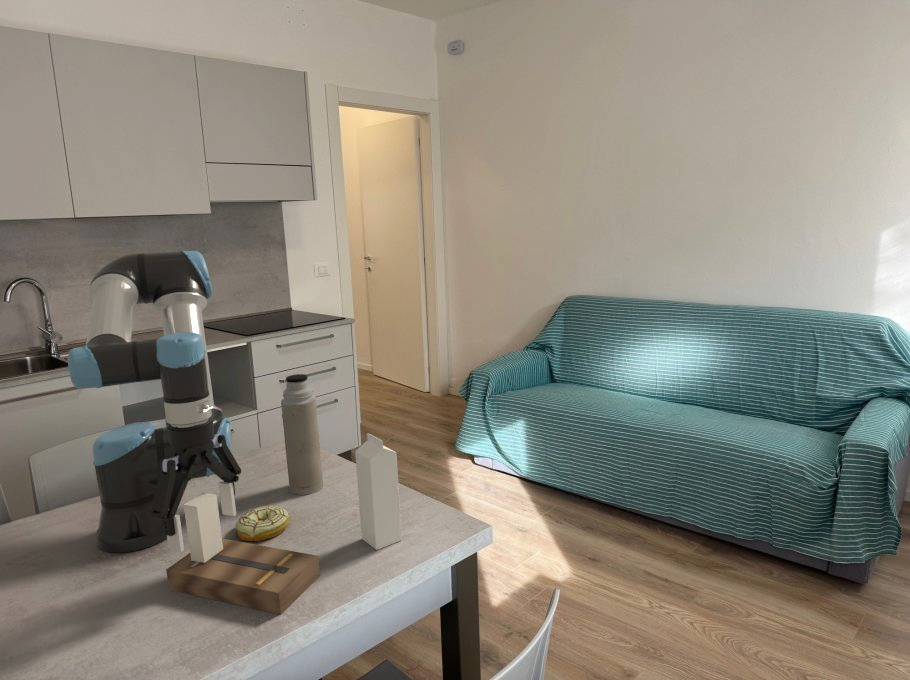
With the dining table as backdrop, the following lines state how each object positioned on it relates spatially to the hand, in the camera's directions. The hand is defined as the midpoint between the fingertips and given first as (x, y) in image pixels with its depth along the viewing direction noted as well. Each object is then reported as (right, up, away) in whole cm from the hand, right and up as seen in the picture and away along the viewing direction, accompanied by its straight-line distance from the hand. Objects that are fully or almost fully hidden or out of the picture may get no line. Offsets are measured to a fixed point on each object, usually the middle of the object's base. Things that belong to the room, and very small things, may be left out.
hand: (204, 531), depth 118 cm
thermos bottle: (+10, -1, +38) cm, 39 cm away
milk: (+31, -5, +12) cm, 34 cm away
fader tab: (0, -5, +1) cm, 5 cm away
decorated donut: (+5, -6, +18) cm, 20 cm away
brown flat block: (+8, -9, -1) cm, 12 cm away
